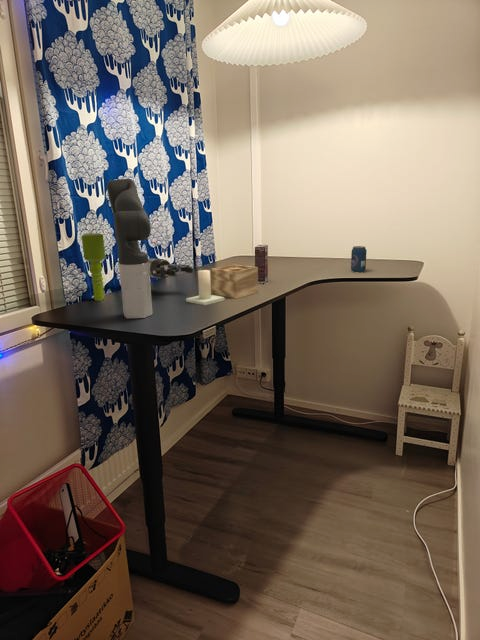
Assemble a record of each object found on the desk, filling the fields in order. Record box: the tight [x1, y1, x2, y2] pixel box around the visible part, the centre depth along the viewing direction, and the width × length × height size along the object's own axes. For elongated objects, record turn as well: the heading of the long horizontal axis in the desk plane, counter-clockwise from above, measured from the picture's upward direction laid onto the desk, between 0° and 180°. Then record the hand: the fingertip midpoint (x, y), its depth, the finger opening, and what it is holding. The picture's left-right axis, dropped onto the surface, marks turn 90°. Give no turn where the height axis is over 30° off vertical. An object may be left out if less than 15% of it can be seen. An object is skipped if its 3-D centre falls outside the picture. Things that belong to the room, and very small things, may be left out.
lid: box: [185, 269, 226, 306], centre depth 164 cm, size 10×10×11 cm
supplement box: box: [254, 244, 269, 284], centre depth 196 cm, size 9×5×16 cm, turn 168°
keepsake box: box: [210, 264, 259, 299], centre depth 175 cm, size 13×13×10 cm
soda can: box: [350, 245, 367, 273], centre depth 215 cm, size 7×7×12 cm
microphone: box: [81, 232, 106, 301], centre depth 169 cm, size 8×8×25 cm
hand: (183, 271), depth 170 cm, fingers open, 8 cm apart
